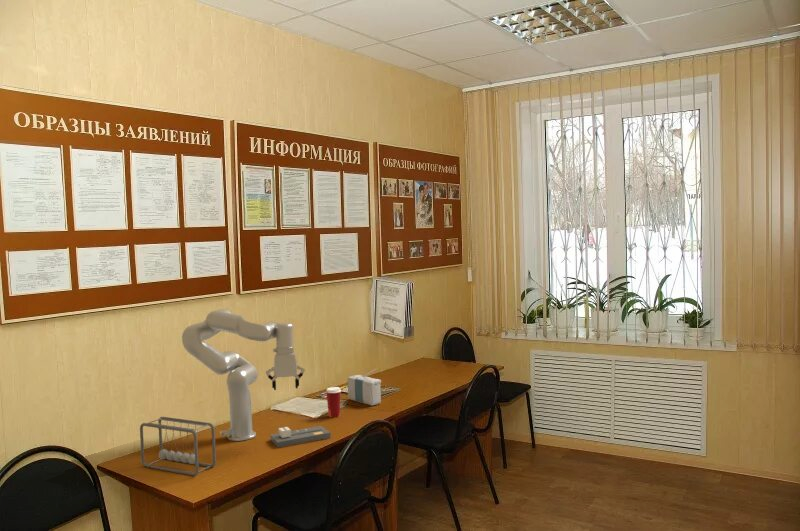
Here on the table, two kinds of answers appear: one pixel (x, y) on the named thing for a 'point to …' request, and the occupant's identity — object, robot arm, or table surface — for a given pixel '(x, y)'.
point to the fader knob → (284, 432)
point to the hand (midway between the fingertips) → (285, 388)
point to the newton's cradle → (178, 455)
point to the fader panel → (300, 436)
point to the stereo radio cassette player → (364, 389)
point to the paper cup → (333, 401)
